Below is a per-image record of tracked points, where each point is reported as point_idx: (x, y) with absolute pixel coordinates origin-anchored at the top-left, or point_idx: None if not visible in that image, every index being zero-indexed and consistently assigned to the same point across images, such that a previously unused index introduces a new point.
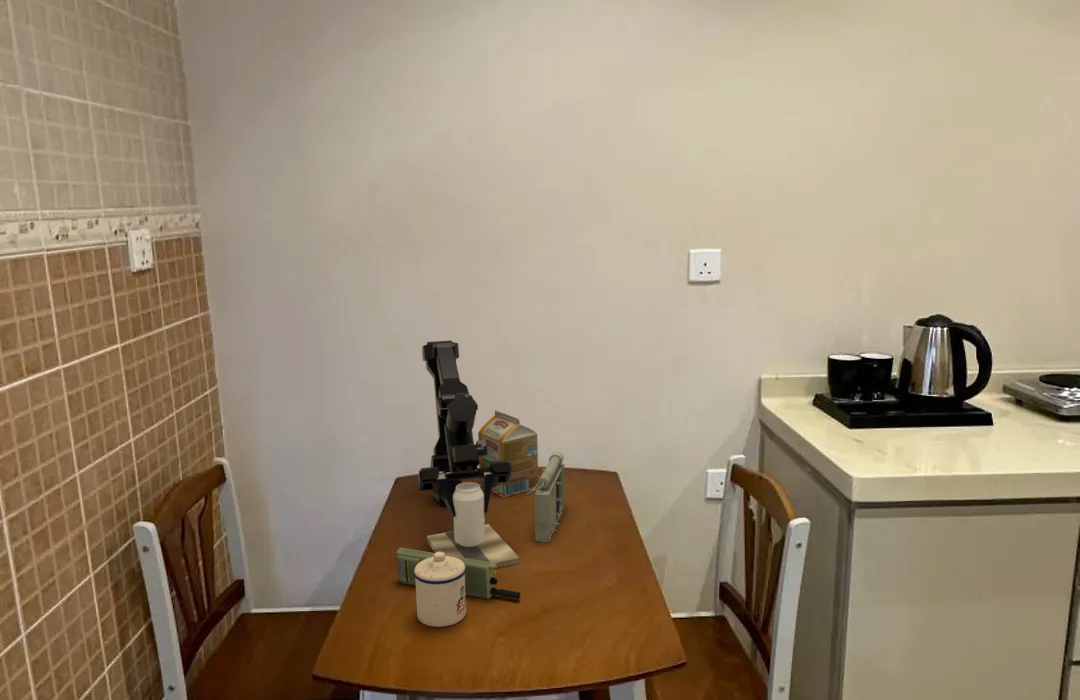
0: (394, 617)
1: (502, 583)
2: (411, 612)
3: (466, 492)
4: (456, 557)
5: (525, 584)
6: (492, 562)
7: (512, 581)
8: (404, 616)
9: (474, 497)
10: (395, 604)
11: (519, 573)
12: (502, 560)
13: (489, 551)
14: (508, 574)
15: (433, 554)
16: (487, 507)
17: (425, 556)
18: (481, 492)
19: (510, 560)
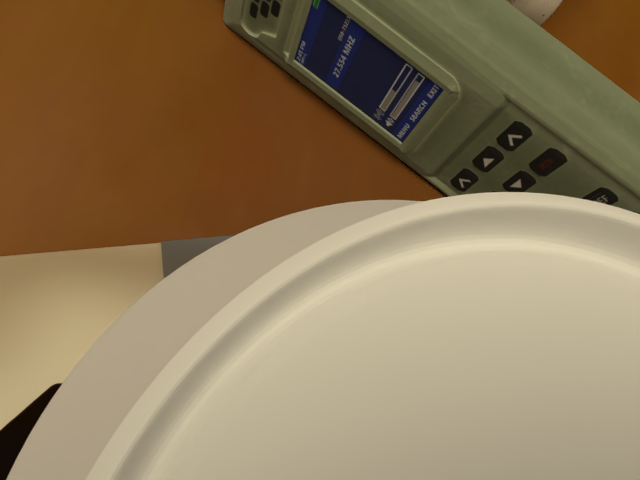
0: (626, 14)
1: (150, 83)
2: (571, 20)
3: (626, 235)
4: (454, 3)
5: (31, 28)
6: (147, 254)
7: (89, 82)
8: (593, 6)
9: (343, 215)
10: (633, 97)
11: (12, 148)
12: (71, 260)
13: None
14: (82, 161)
15: (593, 103)
16: (25, 411)
17: (636, 106)
18: (68, 431)
19: (13, 258)
